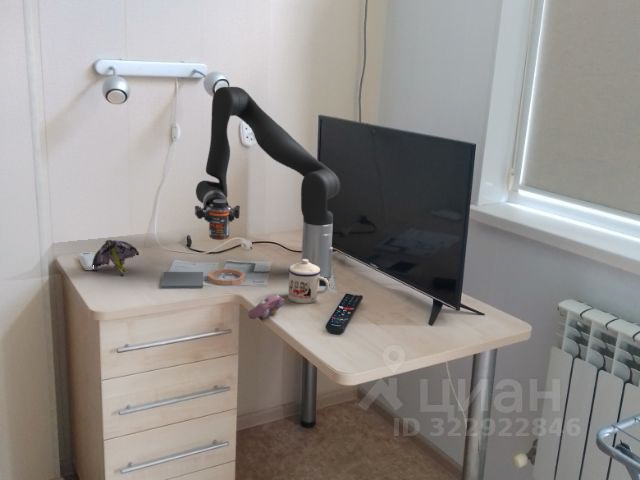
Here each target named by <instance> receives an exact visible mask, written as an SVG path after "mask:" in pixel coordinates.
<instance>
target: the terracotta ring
mask: <svg viewBox="0 0 640 480" xmlns="http://www.w3.org/2000/svg"><path fill="white" fill-rule="evenodd" d="M222 273H232V274H231V275H234V274H237V275H236V276H238V275H239V276H240V277H239V276H238V277H237V278H233V279H232V278H231V279H220V278H216V277H215V276H219V275H222ZM245 274H246V273H245V272H244V271H242V270H240V269H235V268H217V269H213V270H211V271H209V272H208V273H207V281H209V282H210V283H212V284H214V285H219V286H235V285H238V284H241V283H243V282H244V281H245V279H246V277H245V276H246V275H245Z"/></svg>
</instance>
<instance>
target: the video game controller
mask: <svg viewBox="0 0 640 480" xmlns="http://www.w3.org/2000/svg"><path fill="white" fill-rule="evenodd" d="M285 303H286V300H285V299H284V298H283V297H281V296H279V294H276V295H270V296H267V297H266V298H265V299H263V300H261V302H259V303H258V304H257V305H256V306H255V307H253V308H251V309H249V311H248V313H247V317H248V318H249V319H252V320H255V319H258V318H259V317H261V318H262V319H266V318H268V316H269V315H271V316H273V315H275V314H276V313H277V311H279V309H280V308H282V307H283V306H284V304H285Z"/></svg>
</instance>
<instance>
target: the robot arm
mask: <svg viewBox="0 0 640 480" xmlns="http://www.w3.org/2000/svg"><path fill="white" fill-rule="evenodd" d="M232 116H233V117H234V116H235V117H238V119H241V120H242V121H243V122H244V123H245V124H246V125H248V127H249V128H250V129H251V130H252V133H253V137H254V139H255V141H256V143H257V144H258V146H259V148H261V150H262V151H264V153H266V154H267V155H268V157H270V158H271V159H273V160H274V161H275V162H277V163H278V164H281V165H283V166H285V167H287V168H289V169H292V170H293V171H295V172H297V173H298V174H300V175H301V176H302V177H303V178H302V180H301V181H302V182H301V189H300V210H301V211H300V212H301V215H302V216H303V218H302V219H303V221H302V237H301V238H302V239H301V240H302V242H301V243H302V244H301V259H300V260H301V261H300V262H302V259H307V260H308V261H309V263H311V264H313V265H316V266H318V267H319V268H320V271H321V272H320V276H319V277H326V278H331V277H332V272H333V271H332V269H333V268H332V267H333V251H334V249H333V248H334V247H333V246H332V243H333V225H334V224H333V223H334V215H333V214H334V213H332V212H331V211H329V210H328V200H329V199H332V198H334V197H336V195H338V194H339V193H340V189H341V182H340V179H339V177H338V175H336V173H335V172H334V171H333V170H331V169H330V168H329V167H328V166H326V165H325V164H324V163H322V162H321V161H319V160H318V159H317V158H316V157H314V156H313V155H312V154H311V153H310V152H309V151H307V150H306V149H305V148H304V147H303V146H302V145H301V144H300V143H299V142H298V141H297V140H296V139H295V138H293V137H292V136H291V135H290V133H289V132H287V130H285V129H284V128H283V127H282V126H281V125H279V124H278V123H277V122H276V121H275V120H274V119H273V118H272V117H271V116H270V115H269V114H267V113H266V112H265V111H264V110H263V109H262V108H261V107H260V105H258V104H257V102H256V101H255V100H254V99H253V97H252V96H250V94H249V93H248V92H247V91H246V90H245V89H244V88H241V87H239V86H221V87H219V88H217V89H216V91H214V93H213V96H212V102H211V126H210V144H209V150H208V155H207V161H206V165H205V166H206V167H205V172H206V174H207V175H209V176H210V177H212V178H215V179H217V180H218V182H217V181H216V182H215V181H210V180H201V181H199V182H198V183H197V185H196V189H195V194H196V195H195V196H196V198H197V201H199V202H200V203H201V204H202V206H203V207H201V206H199V205H195V206H194V216H196V218H197V219H199V220H200V219H204V221H207V223H209V222H210V213H209V211H210V208H211V207H213V200H217V199H222V200H226V206H227V208H229V211H230V212H229V223H231V222H232V223H233V221H235V219H240V214H241V213H240V212H241V211H240V210H241V209H240V208H241V207H240V205H235V206H234V207H231V206H230V204H229V202H228V199H227V198H228V185H227V173H228V167H229V162H230V158H231V157H230V156H231V148H230V141H229V138H228V126H229V122H230V118H231V117H232Z"/></svg>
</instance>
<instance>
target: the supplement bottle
mask: <svg viewBox="0 0 640 480" xmlns="http://www.w3.org/2000/svg"><path fill="white" fill-rule="evenodd" d="M229 212H230V211H229V208H227V206H226V200H222V199H217V200H213V207H211V208H210V211H209V213H210V222H208V225H209V226H208V231H209V232H208V234H209V238H211V239H213V240H217V241H219V240H220V241H223V240H226V239H229V237H230V221H229Z"/></svg>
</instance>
